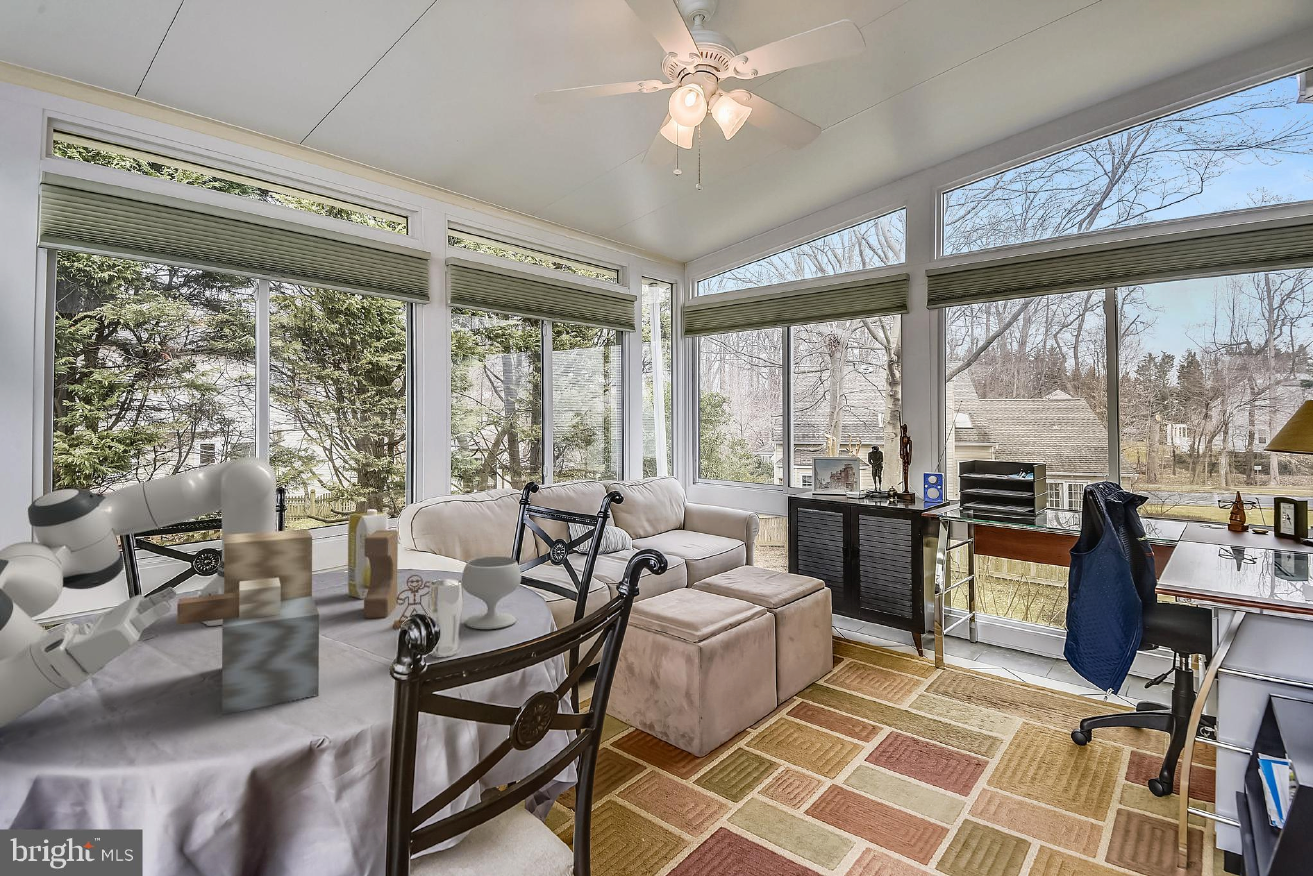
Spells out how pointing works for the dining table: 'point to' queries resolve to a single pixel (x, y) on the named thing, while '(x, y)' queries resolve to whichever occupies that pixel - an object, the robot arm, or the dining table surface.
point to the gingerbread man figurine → (399, 622)
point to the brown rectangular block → (233, 603)
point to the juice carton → (361, 549)
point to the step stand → (270, 623)
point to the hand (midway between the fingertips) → (171, 597)
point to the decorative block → (381, 573)
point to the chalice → (491, 588)
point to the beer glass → (446, 613)
